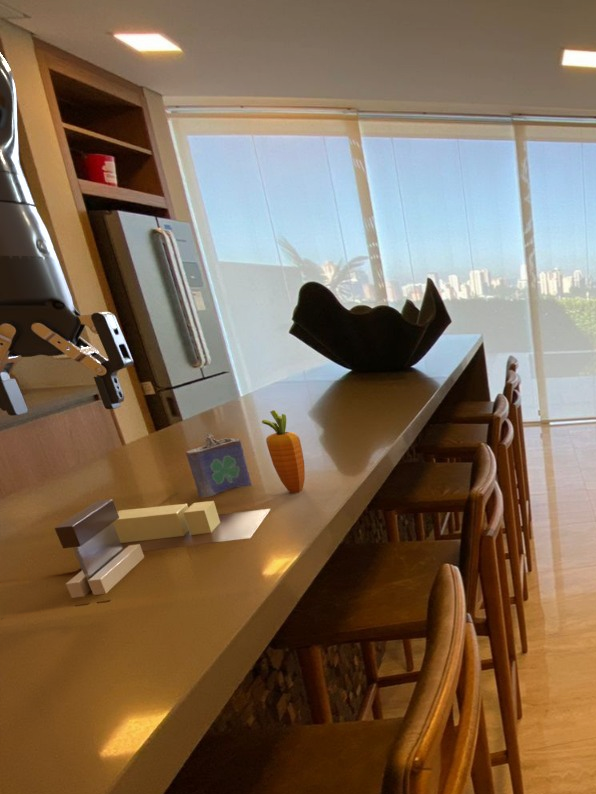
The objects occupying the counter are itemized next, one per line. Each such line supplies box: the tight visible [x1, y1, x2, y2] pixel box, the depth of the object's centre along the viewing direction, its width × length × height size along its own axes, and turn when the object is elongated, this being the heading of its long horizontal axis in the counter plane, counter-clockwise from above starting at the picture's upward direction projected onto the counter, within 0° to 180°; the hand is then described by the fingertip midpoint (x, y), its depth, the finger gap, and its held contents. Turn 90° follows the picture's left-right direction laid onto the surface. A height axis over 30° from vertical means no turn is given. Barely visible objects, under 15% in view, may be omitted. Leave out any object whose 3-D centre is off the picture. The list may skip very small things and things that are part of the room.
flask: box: [185, 433, 253, 498], centre depth 97 cm, size 9×3×11 cm, turn 164°
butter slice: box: [184, 500, 220, 535], centre depth 81 cm, size 2×4×4 cm, turn 19°
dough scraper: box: [54, 498, 123, 593], centre depth 67 cm, size 9×2×10 cm, turn 19°
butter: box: [113, 503, 189, 543], centre depth 79 cm, size 8×4×4 cm, turn 109°
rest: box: [65, 544, 145, 607], centre depth 69 cm, size 10×3×3 cm, turn 19°
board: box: [121, 508, 271, 553], centre depth 81 cm, size 18×12×1 cm, turn 109°
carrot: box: [261, 409, 306, 494], centre depth 95 cm, size 5×5×15 cm
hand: (67, 411), depth 64 cm, fingers open, 8 cm apart
